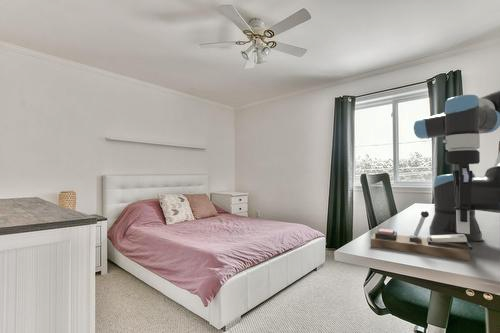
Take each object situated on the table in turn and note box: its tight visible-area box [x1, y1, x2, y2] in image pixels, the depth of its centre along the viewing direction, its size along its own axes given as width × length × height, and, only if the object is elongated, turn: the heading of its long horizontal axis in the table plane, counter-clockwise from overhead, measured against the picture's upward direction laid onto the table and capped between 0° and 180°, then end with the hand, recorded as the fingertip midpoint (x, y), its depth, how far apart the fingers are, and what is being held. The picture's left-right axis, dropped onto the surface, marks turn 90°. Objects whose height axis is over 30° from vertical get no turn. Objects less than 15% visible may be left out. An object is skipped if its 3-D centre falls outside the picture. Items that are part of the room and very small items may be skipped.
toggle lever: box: [413, 210, 430, 237], centre depth 77 cm, size 2×2×8 cm
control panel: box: [370, 229, 473, 262], centre depth 78 cm, size 25×10×4 cm, turn 57°
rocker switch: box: [430, 234, 468, 242], centre depth 73 cm, size 8×4×1 cm, turn 57°
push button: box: [378, 228, 394, 235], centre depth 82 cm, size 4×4×2 cm
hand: (463, 232), depth 72 cm, fingers closed
